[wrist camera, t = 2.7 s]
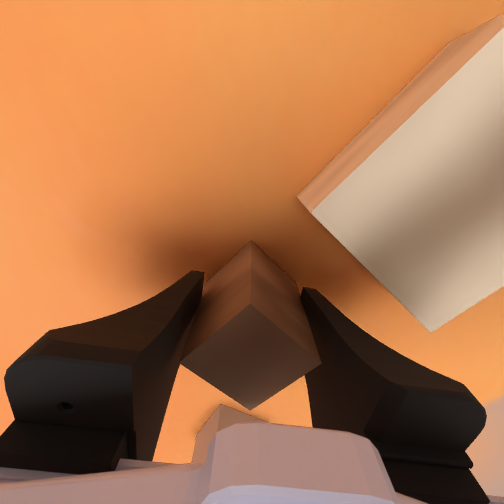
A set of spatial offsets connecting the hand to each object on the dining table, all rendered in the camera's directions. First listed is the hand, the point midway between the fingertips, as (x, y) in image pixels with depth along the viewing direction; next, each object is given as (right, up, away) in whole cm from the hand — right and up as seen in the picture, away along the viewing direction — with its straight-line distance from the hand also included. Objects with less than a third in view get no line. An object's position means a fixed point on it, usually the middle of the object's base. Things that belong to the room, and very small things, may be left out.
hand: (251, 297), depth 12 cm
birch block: (+8, +5, 0) cm, 9 cm away
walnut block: (0, +1, +1) cm, 1 cm away
